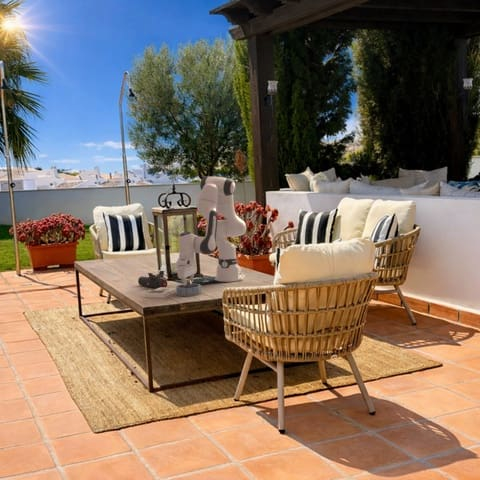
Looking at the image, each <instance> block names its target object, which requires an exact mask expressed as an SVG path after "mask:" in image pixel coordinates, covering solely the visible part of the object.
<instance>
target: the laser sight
mask: <svg viewBox="0 0 480 480" xmlns="http://www.w3.org/2000/svg"><path fill="white" fill-rule="evenodd" d="M164 273H165V271H164V270H159V272H158V274H153V273H152V272H147V275H148V276H140V277H138V280H137V282H138V285H139V286H144V287H147V288H154V289H158V288H160V287H164V288H168V281H167V279H165V278H164Z"/></svg>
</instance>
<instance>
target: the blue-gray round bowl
mask: <svg viewBox="0 0 480 480" xmlns="http://www.w3.org/2000/svg"><path fill="white" fill-rule="evenodd" d="M175 288H176V292H175V293H176V296H179V297H193V296H199V295H200V293H202V285H201V284H200V283H199V284H198V283H192V288H185V286H184V285H183V283H182V284H179V285H176V286H175ZM198 294H199V295H198Z"/></svg>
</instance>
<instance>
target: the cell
mask: <svg viewBox="0 0 480 480" xmlns="http://www.w3.org/2000/svg"><path fill="white" fill-rule="evenodd" d="M186 282H187V285H185V288H192V284H193V282H192V281H191V280H189V279H186Z"/></svg>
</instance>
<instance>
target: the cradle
mask: <svg viewBox="0 0 480 480" xmlns="http://www.w3.org/2000/svg"><path fill="white" fill-rule="evenodd" d="M175 293H176V287H166V288H164V287H160V288H154V289H153V290H148V291H146V292H144V293H143V296H144V298H148V299H149V298H150V299H153V298H156V299H164V298H167V297H169V296H170V295H172V294H175Z"/></svg>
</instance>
